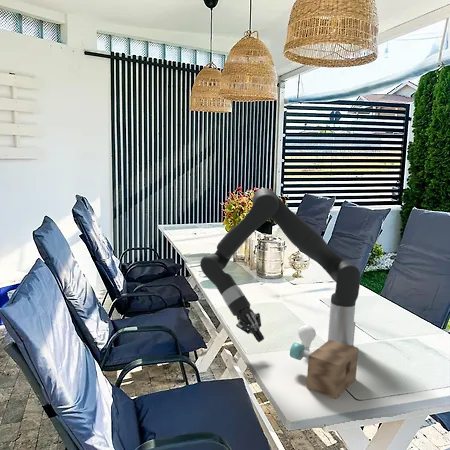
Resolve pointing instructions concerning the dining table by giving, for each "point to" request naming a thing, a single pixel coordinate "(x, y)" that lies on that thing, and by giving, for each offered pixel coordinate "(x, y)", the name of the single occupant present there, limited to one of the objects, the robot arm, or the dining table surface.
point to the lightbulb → (306, 335)
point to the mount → (332, 368)
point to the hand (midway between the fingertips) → (261, 340)
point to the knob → (299, 351)
